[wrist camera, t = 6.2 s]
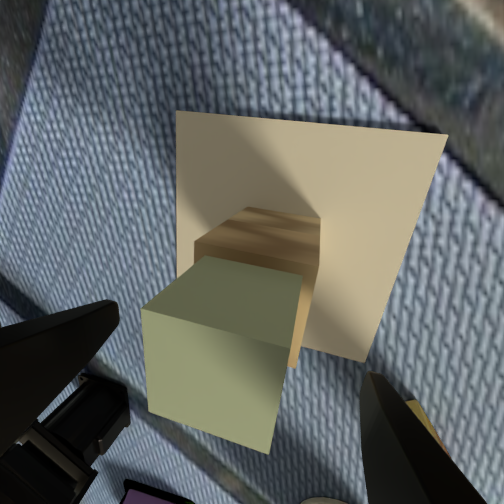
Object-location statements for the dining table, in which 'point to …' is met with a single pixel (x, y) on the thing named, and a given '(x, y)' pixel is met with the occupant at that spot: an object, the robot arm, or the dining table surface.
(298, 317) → the tower top block
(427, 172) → the felt mat
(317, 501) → the bottle
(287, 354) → the sage cube
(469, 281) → the dining table surface
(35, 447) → the robot arm
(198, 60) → the dining table surface
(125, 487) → the miniature room corner
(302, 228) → the tower base block
